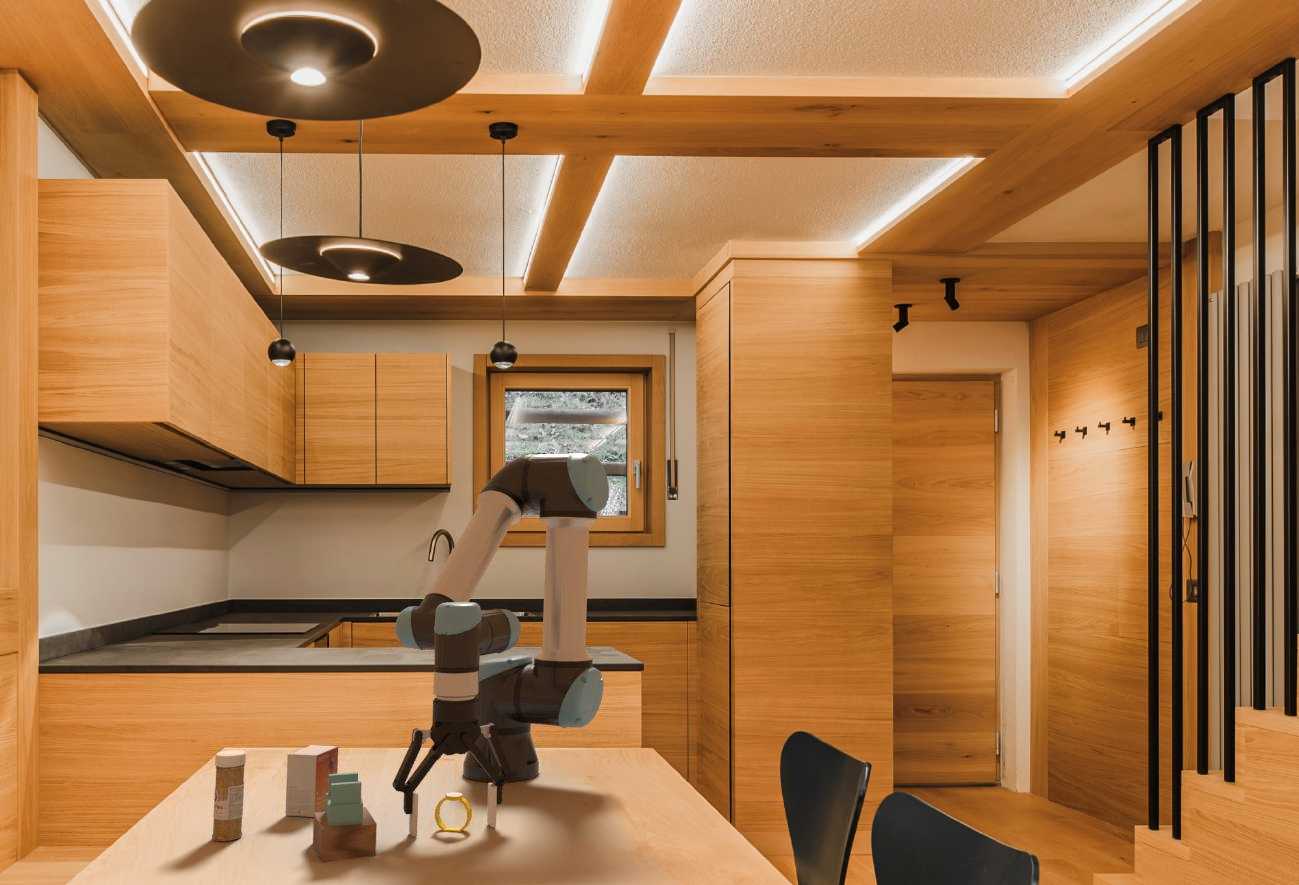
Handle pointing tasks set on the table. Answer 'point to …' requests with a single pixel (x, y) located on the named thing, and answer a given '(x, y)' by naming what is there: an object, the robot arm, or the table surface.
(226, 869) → the table surface
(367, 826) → the bottom block
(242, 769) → the sprinkles bottle
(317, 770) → the small box
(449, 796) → the watch
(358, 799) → the top block
